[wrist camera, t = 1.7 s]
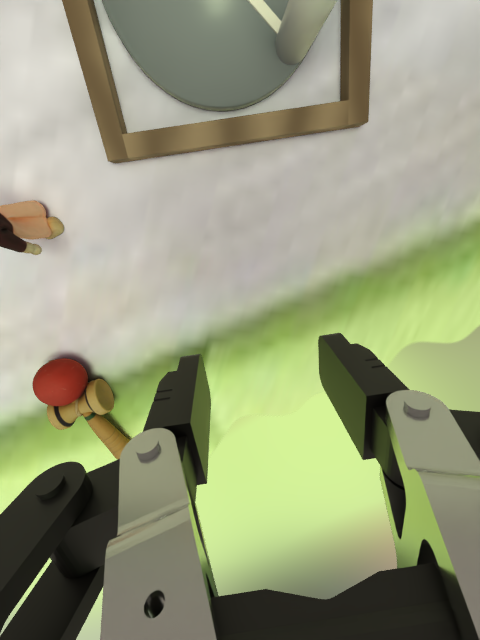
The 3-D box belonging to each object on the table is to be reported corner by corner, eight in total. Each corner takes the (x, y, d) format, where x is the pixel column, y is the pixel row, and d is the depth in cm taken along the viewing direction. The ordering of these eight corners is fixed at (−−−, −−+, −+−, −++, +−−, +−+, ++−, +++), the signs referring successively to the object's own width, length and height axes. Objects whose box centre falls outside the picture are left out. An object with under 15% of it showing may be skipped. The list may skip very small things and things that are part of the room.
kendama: (154, 425, 45) (84, 342, 36) (140, 464, 40) (54, 379, 31) (114, 433, 47) (38, 356, 38) (96, 470, 42) (2, 392, 33)
